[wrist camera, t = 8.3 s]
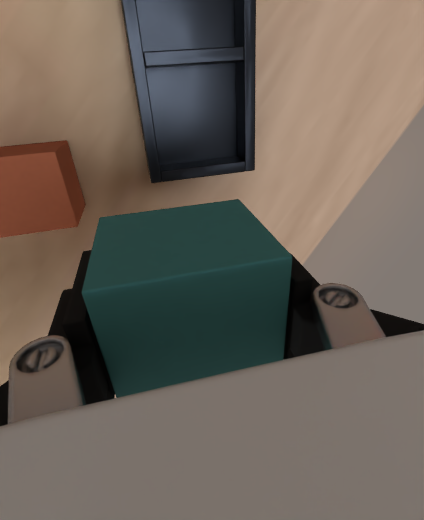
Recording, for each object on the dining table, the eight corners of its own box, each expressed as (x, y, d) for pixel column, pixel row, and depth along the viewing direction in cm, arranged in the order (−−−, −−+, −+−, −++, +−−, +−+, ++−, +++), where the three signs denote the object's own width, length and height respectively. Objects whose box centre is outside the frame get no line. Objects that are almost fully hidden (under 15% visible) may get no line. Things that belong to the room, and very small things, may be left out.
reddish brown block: (19, 214, 24) (-1, 238, 20) (-8, 147, 22) (-37, 160, 18) (85, 205, 25) (78, 226, 21) (67, 140, 22) (54, 151, 19)
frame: (149, 174, 25) (151, 183, 23) (104, -100, 17) (100, -128, 15) (244, 163, 26) (254, 170, 24) (241, -97, 19) (257, -121, 16)
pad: (127, 326, 13) (125, 426, 9) (98, 216, 11) (80, 292, 7) (240, 305, 14) (281, 388, 10) (239, 198, 11) (293, 255, 8)
